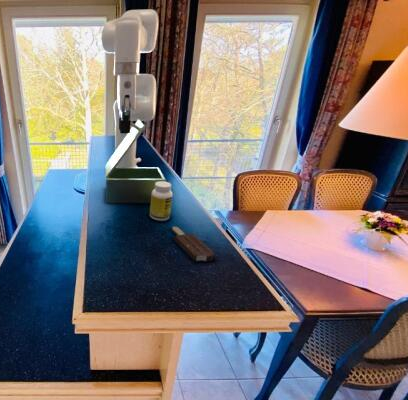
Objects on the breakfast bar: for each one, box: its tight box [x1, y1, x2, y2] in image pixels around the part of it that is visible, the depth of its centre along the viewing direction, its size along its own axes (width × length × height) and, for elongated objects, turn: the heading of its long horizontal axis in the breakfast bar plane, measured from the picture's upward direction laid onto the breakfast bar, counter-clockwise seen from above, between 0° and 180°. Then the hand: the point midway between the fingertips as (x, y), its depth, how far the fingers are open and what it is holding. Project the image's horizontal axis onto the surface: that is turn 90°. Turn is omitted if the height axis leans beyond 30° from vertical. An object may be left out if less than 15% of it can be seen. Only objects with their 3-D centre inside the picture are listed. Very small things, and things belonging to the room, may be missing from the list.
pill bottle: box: [149, 181, 174, 222], centre depth 80 cm, size 6×6×11 cm
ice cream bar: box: [171, 226, 215, 263], centre depth 69 cm, size 5×2×15 cm
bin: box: [105, 167, 167, 204], centre depth 95 cm, size 20×13×9 cm, turn 89°
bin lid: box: [105, 119, 146, 179], centre depth 89 cm, size 20×13×5 cm
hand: (124, 130), depth 87 cm, fingers closed on bin lid, 5 cm apart
